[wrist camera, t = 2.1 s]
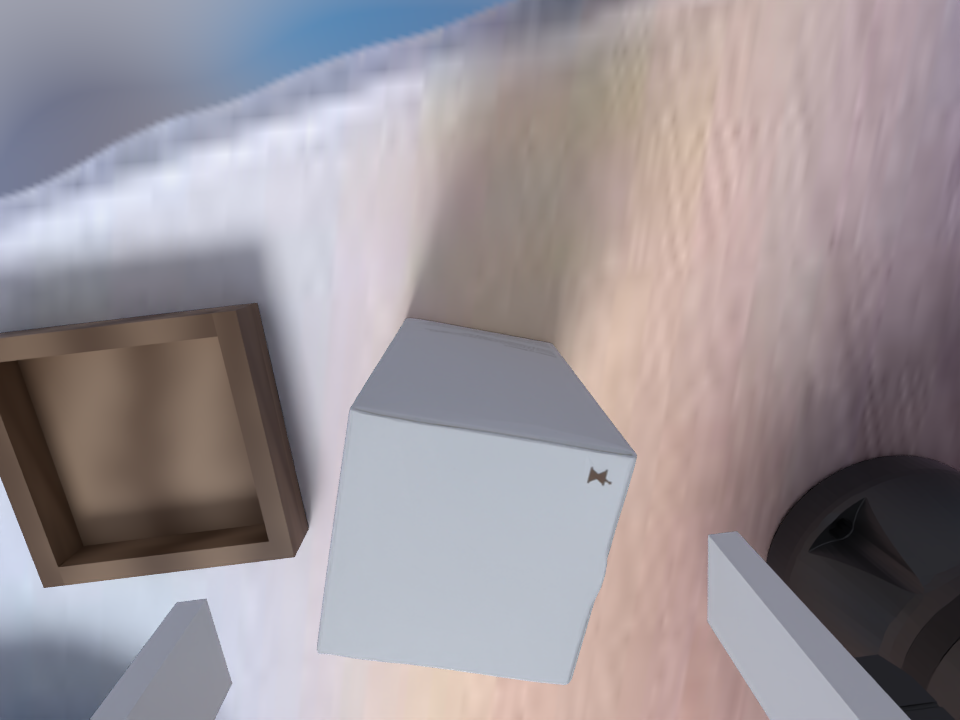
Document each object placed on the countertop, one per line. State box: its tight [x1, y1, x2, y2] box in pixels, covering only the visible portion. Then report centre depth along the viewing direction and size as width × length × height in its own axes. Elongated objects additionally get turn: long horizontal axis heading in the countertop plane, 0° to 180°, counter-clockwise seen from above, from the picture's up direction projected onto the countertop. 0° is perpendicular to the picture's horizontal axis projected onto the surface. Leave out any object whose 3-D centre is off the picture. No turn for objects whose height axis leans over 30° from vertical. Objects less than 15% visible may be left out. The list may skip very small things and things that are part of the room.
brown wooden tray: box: [0, 303, 308, 588], centre depth 28 cm, size 14×14×3 cm
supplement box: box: [317, 318, 637, 685], centre depth 23 cm, size 9×9×15 cm
